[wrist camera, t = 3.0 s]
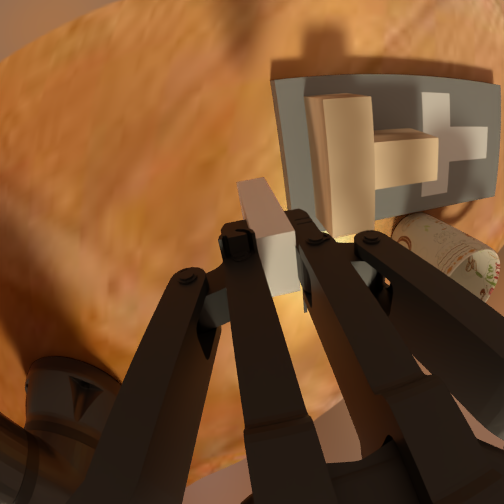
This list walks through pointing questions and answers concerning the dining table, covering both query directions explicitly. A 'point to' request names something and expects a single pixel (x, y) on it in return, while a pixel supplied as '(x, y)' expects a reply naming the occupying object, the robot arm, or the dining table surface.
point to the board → (398, 117)
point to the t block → (360, 160)
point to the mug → (450, 252)
